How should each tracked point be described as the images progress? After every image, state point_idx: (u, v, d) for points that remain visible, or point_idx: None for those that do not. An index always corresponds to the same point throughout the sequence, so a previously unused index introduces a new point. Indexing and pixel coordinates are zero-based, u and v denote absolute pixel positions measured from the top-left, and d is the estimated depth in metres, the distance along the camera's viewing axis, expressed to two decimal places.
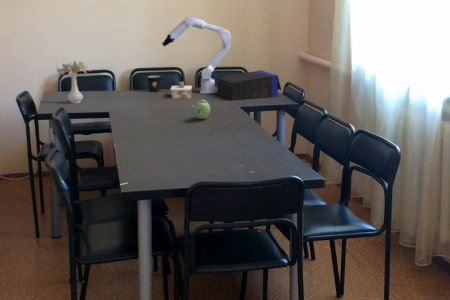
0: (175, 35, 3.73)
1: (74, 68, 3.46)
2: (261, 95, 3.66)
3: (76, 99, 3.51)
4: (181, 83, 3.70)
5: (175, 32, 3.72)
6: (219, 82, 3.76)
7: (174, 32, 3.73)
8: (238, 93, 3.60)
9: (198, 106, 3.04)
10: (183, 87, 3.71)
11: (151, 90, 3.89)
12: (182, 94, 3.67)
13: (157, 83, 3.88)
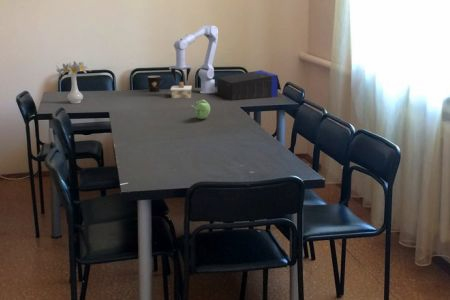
0: None
1: (74, 68, 3.46)
2: (261, 95, 3.66)
3: (76, 99, 3.51)
4: (181, 83, 3.70)
5: None
6: (219, 83, 3.76)
7: (184, 63, 3.67)
8: (237, 93, 3.60)
9: (198, 106, 3.04)
10: (183, 87, 3.71)
11: (151, 90, 3.89)
12: (182, 94, 3.67)
13: (157, 83, 3.88)
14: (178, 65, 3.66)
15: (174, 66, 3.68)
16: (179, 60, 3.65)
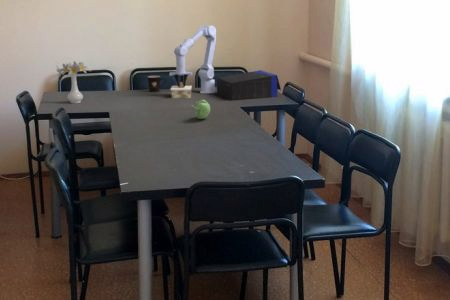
0: None
1: (74, 68, 3.46)
2: (261, 95, 3.66)
3: (76, 99, 3.51)
4: (181, 83, 3.70)
5: None
6: (218, 83, 3.76)
7: (184, 69, 3.68)
8: (237, 93, 3.60)
9: (198, 106, 3.04)
10: (183, 87, 3.71)
11: (151, 90, 3.89)
12: (182, 94, 3.67)
13: (157, 83, 3.88)
14: (178, 71, 3.67)
15: (174, 72, 3.69)
16: (179, 66, 3.66)
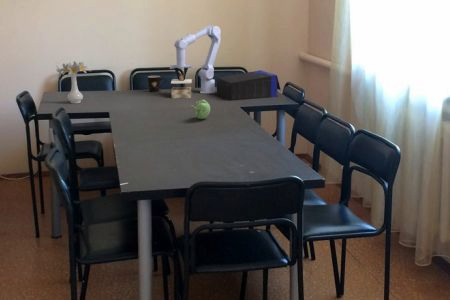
0: None
1: (74, 68, 3.46)
2: (261, 95, 3.66)
3: (76, 99, 3.51)
4: (181, 76, 3.72)
5: (185, 62, 3.70)
6: (218, 83, 3.76)
7: (185, 62, 3.70)
8: (237, 93, 3.60)
9: (198, 106, 3.04)
10: (183, 80, 3.73)
11: (151, 90, 3.89)
12: (182, 94, 3.67)
13: (157, 83, 3.88)
14: (178, 64, 3.69)
15: (174, 65, 3.71)
16: (179, 59, 3.68)
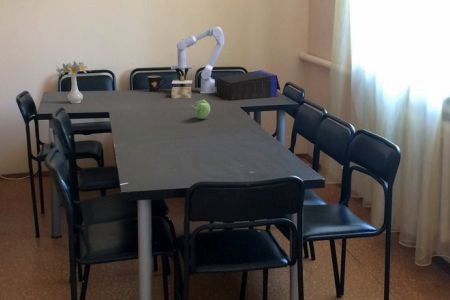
0: None
1: (74, 68, 3.46)
2: (261, 95, 3.66)
3: (76, 99, 3.51)
4: (182, 77, 3.83)
5: None
6: (218, 83, 3.76)
7: (185, 63, 3.81)
8: (237, 93, 3.60)
9: (198, 106, 3.04)
10: None
11: (151, 90, 3.89)
12: (182, 94, 3.67)
13: (157, 83, 3.88)
14: (179, 65, 3.80)
15: (175, 66, 3.82)
16: (180, 60, 3.79)
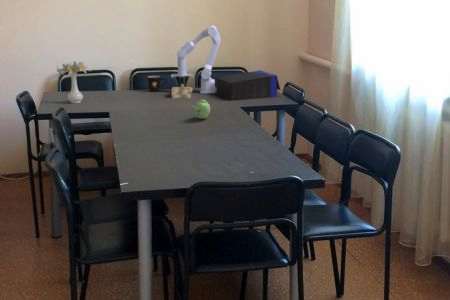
0: None
1: (74, 68, 3.46)
2: (260, 95, 3.66)
3: (76, 99, 3.51)
4: (182, 85, 3.84)
5: None
6: (218, 83, 3.76)
7: None
8: (237, 93, 3.60)
9: (198, 106, 3.04)
10: None
11: (151, 90, 3.89)
12: (182, 94, 3.67)
13: (157, 83, 3.88)
14: (180, 73, 3.81)
15: (176, 74, 3.84)
16: (180, 68, 3.80)
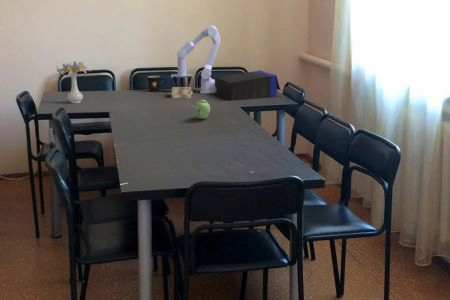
0: None
1: (74, 68, 3.46)
2: (260, 95, 3.66)
3: (76, 99, 3.51)
4: None
5: None
6: (218, 83, 3.76)
7: None
8: (236, 93, 3.60)
9: (198, 106, 3.04)
10: None
11: (151, 90, 3.89)
12: (182, 94, 3.67)
13: (157, 83, 3.88)
14: (180, 73, 3.81)
15: (176, 74, 3.84)
16: (180, 69, 3.80)
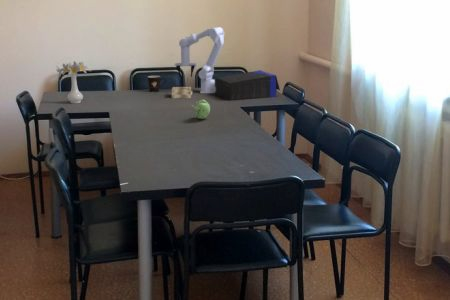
0: None
1: (74, 68, 3.46)
2: (260, 95, 3.66)
3: (76, 99, 3.51)
4: None
5: (189, 60, 3.88)
6: (217, 83, 3.76)
7: (189, 60, 3.87)
8: (236, 93, 3.60)
9: (198, 106, 3.04)
10: None
11: (151, 90, 3.89)
12: (182, 94, 3.67)
13: (157, 83, 3.88)
14: (183, 62, 3.86)
15: (179, 63, 3.89)
16: (184, 57, 3.85)
